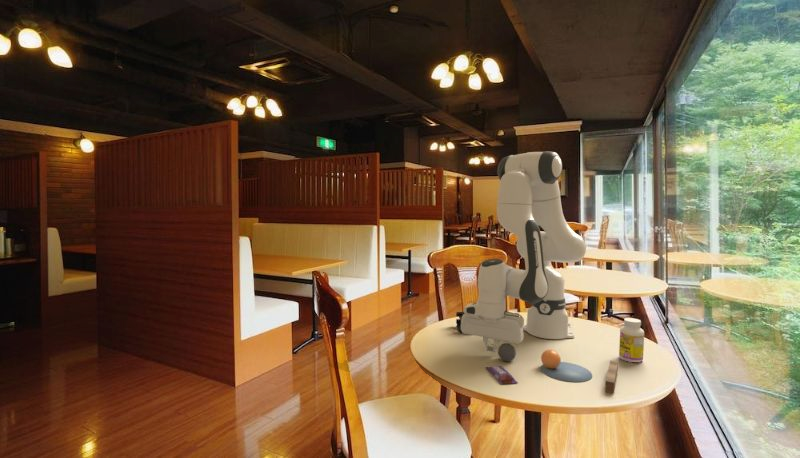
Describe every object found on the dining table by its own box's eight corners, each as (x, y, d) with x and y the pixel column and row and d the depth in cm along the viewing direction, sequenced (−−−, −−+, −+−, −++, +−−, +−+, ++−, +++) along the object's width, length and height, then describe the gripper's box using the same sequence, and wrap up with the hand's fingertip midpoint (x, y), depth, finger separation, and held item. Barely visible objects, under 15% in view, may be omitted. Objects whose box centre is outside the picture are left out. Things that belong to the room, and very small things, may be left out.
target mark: (546, 358, 127) (546, 358, 127) (594, 368, 119) (594, 367, 119) (536, 374, 115) (536, 374, 115) (589, 386, 107) (589, 385, 107)
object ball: (557, 345, 121) (564, 363, 120) (540, 349, 123) (546, 366, 123) (554, 351, 116) (562, 369, 115) (536, 355, 119) (543, 373, 118)
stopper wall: (610, 370, 118) (610, 360, 118) (617, 371, 117) (618, 361, 117) (605, 391, 104) (605, 380, 104) (613, 393, 103) (614, 382, 103)
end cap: (478, 334, 151) (478, 316, 151) (460, 334, 151) (460, 316, 150) (473, 326, 161) (473, 309, 161) (455, 326, 161) (456, 309, 160)
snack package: (485, 363, 120) (500, 362, 120) (484, 370, 120) (500, 369, 121) (501, 380, 108) (518, 379, 109) (500, 387, 108) (517, 386, 109)
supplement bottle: (614, 355, 129) (615, 317, 129) (633, 355, 130) (635, 316, 129) (628, 363, 123) (629, 323, 122) (648, 363, 123) (649, 322, 122)
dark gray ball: (514, 338, 125) (521, 354, 125) (499, 341, 129) (507, 356, 129) (506, 347, 121) (514, 363, 121) (492, 349, 125) (499, 365, 125)
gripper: (526, 311, 125) (525, 354, 126) (466, 303, 136) (465, 342, 137) (521, 316, 120) (520, 360, 121) (458, 307, 131) (458, 348, 132)
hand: (490, 351), depth 129 cm, fingers closed
